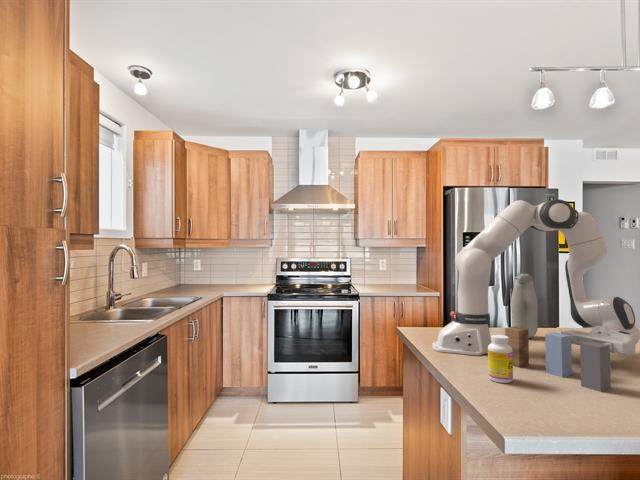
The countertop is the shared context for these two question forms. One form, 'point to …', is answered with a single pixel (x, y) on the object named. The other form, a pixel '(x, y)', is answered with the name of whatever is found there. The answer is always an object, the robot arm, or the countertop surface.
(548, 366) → the slate-blue block
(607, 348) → the charcoal block
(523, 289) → the grey-green tall rounded cylinder
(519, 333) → the walnut block
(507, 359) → the supplement bottle
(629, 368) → the countertop surface
